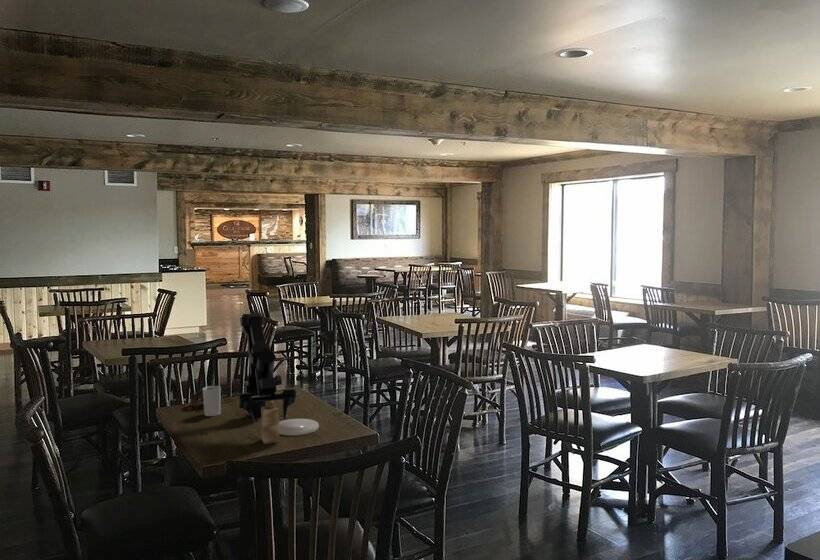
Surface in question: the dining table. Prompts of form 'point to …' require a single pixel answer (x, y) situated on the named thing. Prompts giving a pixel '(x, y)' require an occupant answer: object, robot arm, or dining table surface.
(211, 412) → the drinking glass
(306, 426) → the cream plate
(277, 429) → the pepper mill
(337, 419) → the dining table surface
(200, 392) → the pottery mug
